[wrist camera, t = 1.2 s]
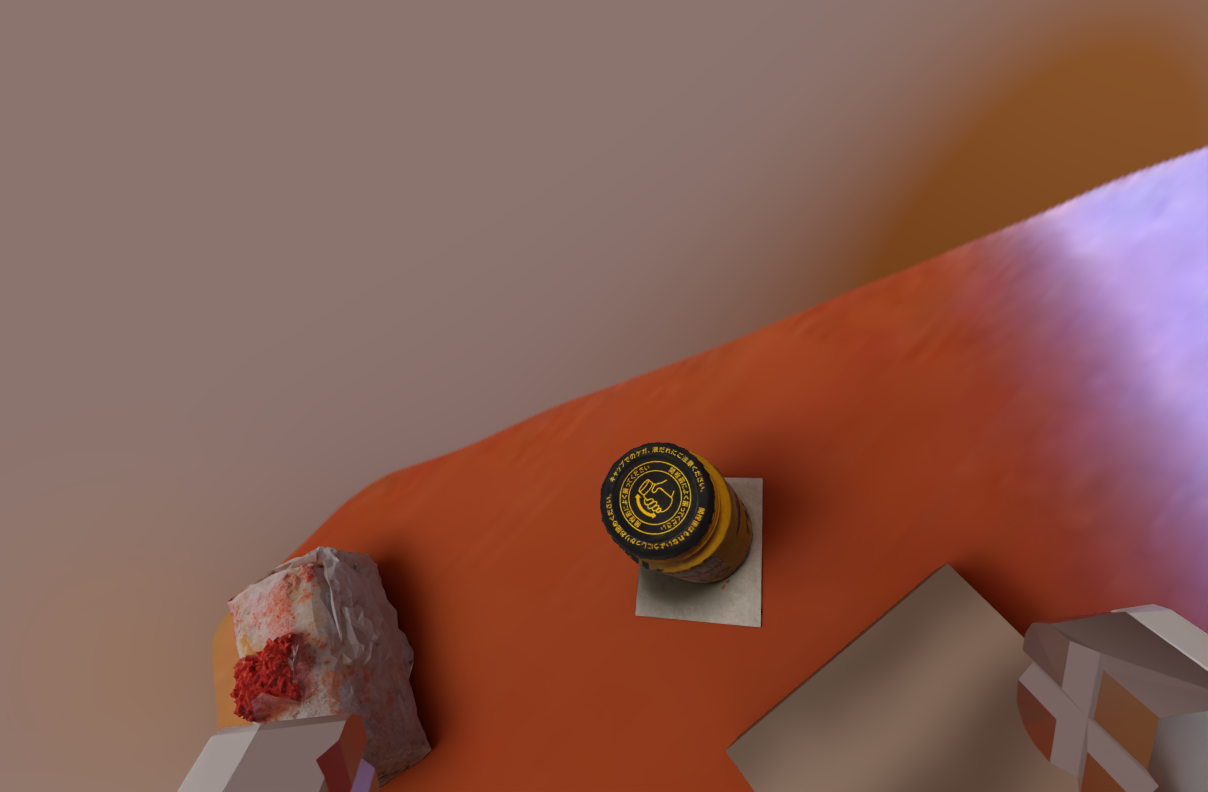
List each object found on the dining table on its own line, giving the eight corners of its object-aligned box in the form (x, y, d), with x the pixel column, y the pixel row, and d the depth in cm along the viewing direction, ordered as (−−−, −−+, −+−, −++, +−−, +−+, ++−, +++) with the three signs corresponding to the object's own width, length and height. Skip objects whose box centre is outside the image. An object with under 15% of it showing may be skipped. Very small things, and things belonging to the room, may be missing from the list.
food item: (304, 603, 47) (181, 598, 38) (392, 547, 46) (287, 529, 37) (355, 803, 41) (223, 851, 32) (458, 743, 40) (351, 777, 31)
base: (1196, 827, 28) (1247, 856, 25) (948, 1027, 29) (963, 1085, 25) (936, 569, 35) (947, 563, 31) (737, 738, 35) (725, 750, 32)
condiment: (763, 478, 39) (733, 423, 28) (761, 627, 36) (728, 628, 26) (646, 476, 42) (579, 424, 31) (636, 615, 39) (559, 611, 28)
